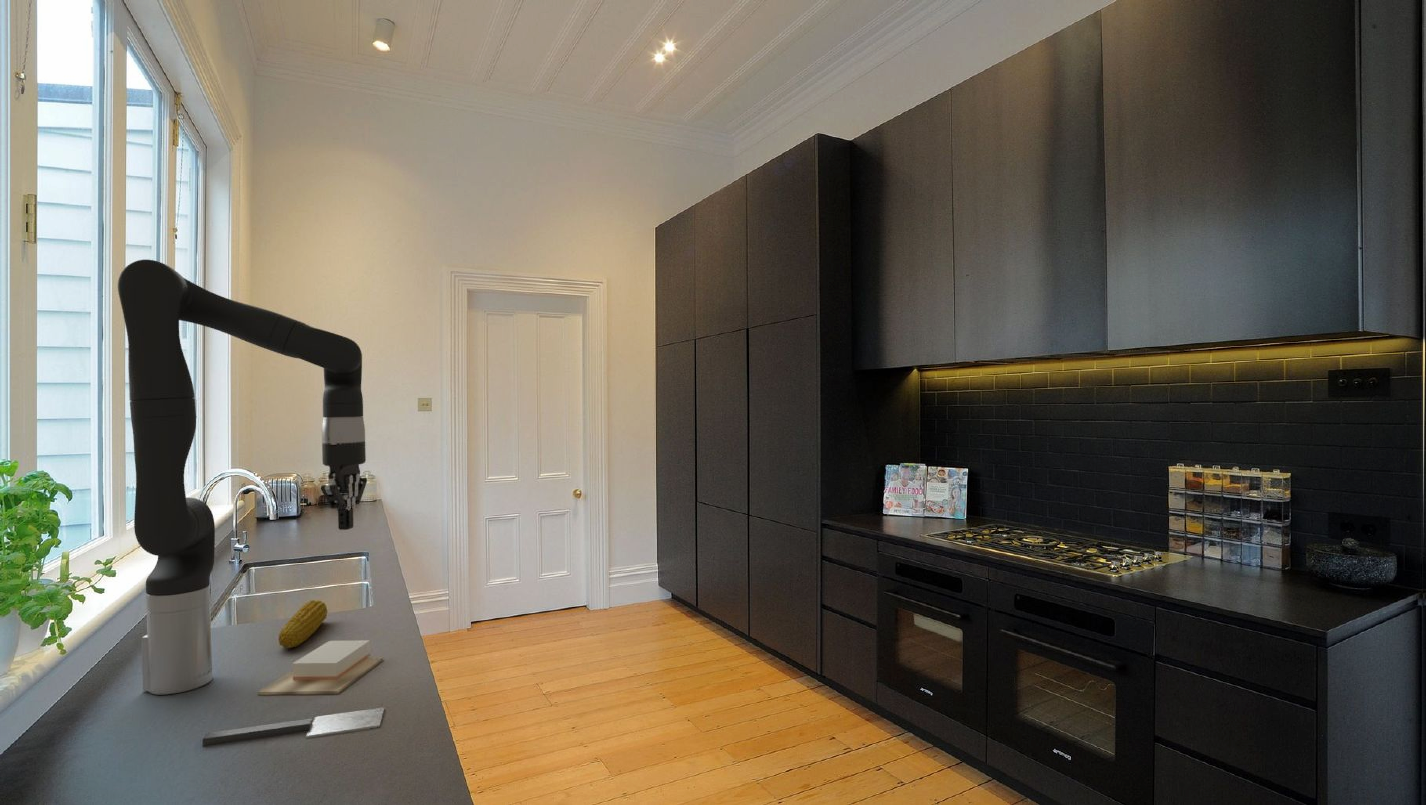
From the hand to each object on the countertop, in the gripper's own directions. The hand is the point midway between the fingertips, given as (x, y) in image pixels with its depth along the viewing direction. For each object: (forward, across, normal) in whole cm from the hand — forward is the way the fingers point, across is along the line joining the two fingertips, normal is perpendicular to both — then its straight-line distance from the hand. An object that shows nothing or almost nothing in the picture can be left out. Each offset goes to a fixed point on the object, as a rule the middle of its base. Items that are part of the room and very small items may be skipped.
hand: (345, 528), depth 142 cm
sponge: (+23, 0, 0) cm, 23 cm away
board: (+25, +9, 0) cm, 27 cm away
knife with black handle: (+26, +31, +8) cm, 41 cm away
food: (+26, -14, -17) cm, 34 cm away
